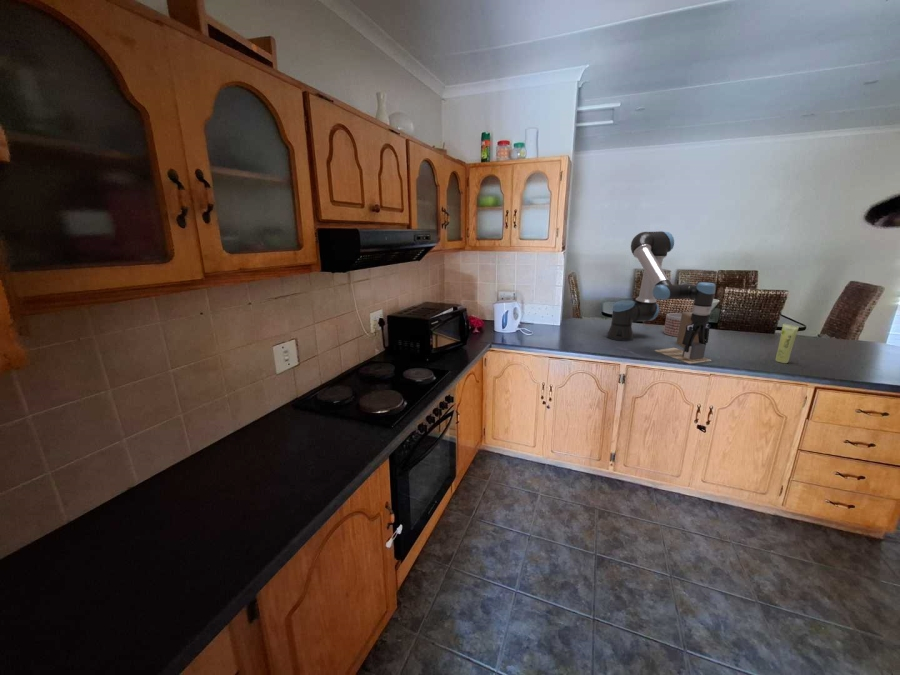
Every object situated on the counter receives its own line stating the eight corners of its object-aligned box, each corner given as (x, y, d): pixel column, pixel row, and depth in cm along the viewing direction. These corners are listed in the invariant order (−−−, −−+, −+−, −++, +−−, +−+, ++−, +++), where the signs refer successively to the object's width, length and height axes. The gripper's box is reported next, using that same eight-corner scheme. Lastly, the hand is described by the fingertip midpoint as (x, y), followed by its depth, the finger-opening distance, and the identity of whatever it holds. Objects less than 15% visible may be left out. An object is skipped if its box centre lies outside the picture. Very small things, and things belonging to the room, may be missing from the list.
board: (653, 352, 198) (653, 350, 198) (674, 349, 202) (674, 347, 202) (689, 365, 178) (689, 363, 178) (711, 362, 182) (712, 360, 182)
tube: (773, 361, 182) (783, 324, 177) (773, 359, 186) (783, 322, 180) (788, 364, 179) (799, 326, 173) (788, 361, 182) (798, 324, 177)
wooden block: (702, 350, 201) (709, 315, 195) (682, 349, 203) (689, 315, 197) (694, 344, 210) (700, 311, 204) (675, 343, 212) (681, 311, 206)
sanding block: (682, 357, 186) (684, 342, 184) (692, 356, 188) (695, 341, 186) (692, 361, 180) (695, 346, 178) (702, 359, 182) (705, 344, 180)
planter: (687, 333, 234) (691, 314, 230) (688, 338, 223) (691, 318, 219) (663, 330, 241) (667, 312, 237) (662, 335, 230) (666, 316, 226)
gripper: (692, 316, 171) (683, 361, 178) (723, 314, 177) (713, 357, 183) (678, 313, 178) (670, 356, 185) (708, 310, 184) (700, 352, 190)
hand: (692, 356), depth 184 cm, fingers closed on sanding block, 7 cm apart
